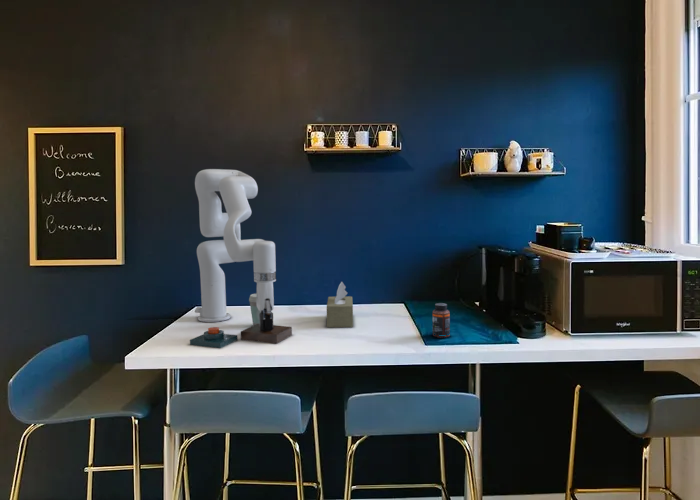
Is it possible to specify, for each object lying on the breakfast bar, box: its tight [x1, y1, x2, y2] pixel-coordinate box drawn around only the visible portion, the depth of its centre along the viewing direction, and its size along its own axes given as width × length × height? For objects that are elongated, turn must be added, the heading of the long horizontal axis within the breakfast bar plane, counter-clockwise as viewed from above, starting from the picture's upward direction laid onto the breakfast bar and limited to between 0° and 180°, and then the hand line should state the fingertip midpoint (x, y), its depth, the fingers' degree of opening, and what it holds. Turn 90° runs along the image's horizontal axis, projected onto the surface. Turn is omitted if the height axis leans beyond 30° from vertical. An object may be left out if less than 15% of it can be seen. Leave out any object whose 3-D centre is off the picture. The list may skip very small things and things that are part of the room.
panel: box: [240, 324, 293, 344], centre depth 176 cm, size 14×11×3 cm
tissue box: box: [326, 281, 354, 328], centre depth 196 cm, size 19×10×16 cm, turn 0°
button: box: [207, 326, 220, 334], centre depth 170 cm, size 4×4×2 cm
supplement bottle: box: [432, 302, 451, 339], centre depth 175 cm, size 6×6×11 cm
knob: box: [259, 311, 274, 331], centre depth 175 cm, size 5×5×6 cm
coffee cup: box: [248, 292, 261, 326], centre depth 191 cm, size 8×8×12 cm
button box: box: [189, 329, 238, 349], centre depth 170 cm, size 12×10×4 cm
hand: (266, 327), depth 175 cm, fingers closed on knob, 4 cm apart
